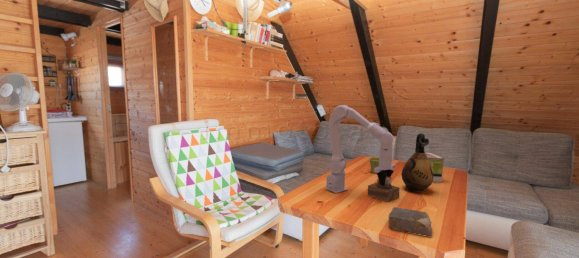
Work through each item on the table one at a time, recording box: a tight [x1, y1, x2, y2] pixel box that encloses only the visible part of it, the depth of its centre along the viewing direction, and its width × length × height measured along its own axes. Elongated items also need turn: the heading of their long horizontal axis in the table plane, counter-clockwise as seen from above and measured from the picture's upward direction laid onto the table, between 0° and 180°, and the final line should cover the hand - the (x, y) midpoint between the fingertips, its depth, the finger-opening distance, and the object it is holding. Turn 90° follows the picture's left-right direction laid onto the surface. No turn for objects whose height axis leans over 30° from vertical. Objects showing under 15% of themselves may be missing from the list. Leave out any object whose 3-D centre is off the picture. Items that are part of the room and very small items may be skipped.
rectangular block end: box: [376, 176, 392, 190], centre depth 135 cm, size 2×6×7 cm, turn 38°
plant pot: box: [368, 157, 379, 174], centre depth 178 cm, size 9×9×9 cm
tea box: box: [425, 152, 445, 183], centre depth 166 cm, size 15×10×15 cm
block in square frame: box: [367, 182, 401, 203], centre depth 135 cm, size 10×11×5 cm
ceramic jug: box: [401, 132, 434, 194], centre depth 145 cm, size 17×15×30 cm
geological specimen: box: [388, 206, 433, 237], centre depth 104 cm, size 11×6×15 cm
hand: (383, 184), depth 135 cm, fingers closed on rectangular block end, 2 cm apart
